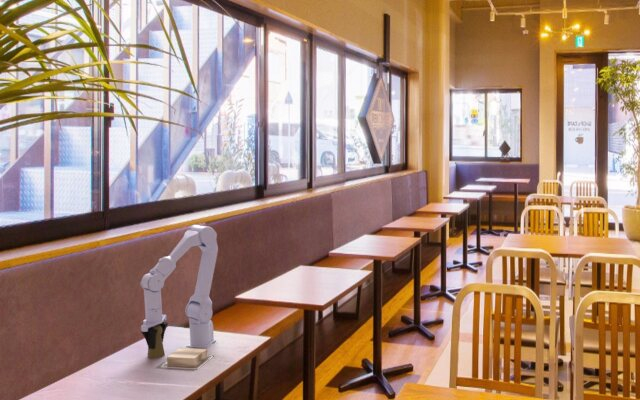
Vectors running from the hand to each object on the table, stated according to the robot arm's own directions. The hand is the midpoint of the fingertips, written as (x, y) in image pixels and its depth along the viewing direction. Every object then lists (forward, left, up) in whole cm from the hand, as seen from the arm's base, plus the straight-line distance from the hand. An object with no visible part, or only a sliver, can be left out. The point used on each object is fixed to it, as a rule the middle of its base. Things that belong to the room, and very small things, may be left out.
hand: (155, 346), depth 234 cm
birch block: (+4, +14, -3) cm, 15 cm away
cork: (0, 0, -4) cm, 4 cm away
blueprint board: (+4, +13, -4) cm, 14 cm away
